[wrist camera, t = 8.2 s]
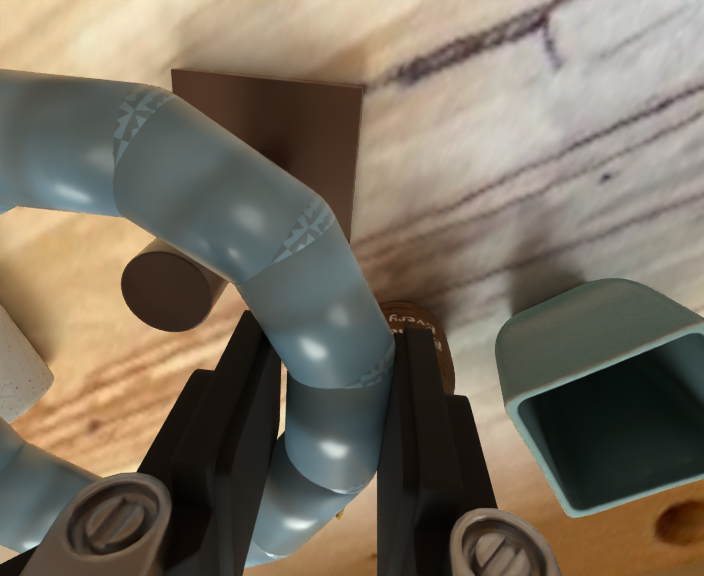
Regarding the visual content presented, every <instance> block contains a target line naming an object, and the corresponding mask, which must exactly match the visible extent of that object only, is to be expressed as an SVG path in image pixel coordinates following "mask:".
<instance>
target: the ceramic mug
mask: <svg viewBox="0 0 704 576" xmlns="http://www.w3.org/2000/svg"><path fill="white" fill-rule="evenodd" d="M53 381H54V375H53V374H52V372H51V370H50V369H49V368H48V366H47V365H46V364H45V363H44V361H43V360H42V359H41V357H40V356H39V355H38V353H37V352H36V351H35V349H34V348H33V346H32V345H31V344H30V342H29V341H28V340H27V338H26V337H25V336H24V334H23V333H22V332H21V331H20V329H19V328H18V327H17V326H16V324H15V323H14V322H13V320H12V319H11V317H10V316H9V315H8V313H7V312H6V311H5V309H4V308H3V306H2V305H1V304H0V416H1V417H2V418H3V419H4V420H5V421H6V422H7V423H8V424H10V423H11V422H13V421H14V420H15V419H17V418H18V417H19V416H20V415H22V414H23V413H24V412H26V411H27V410H28V409H29V408H31V407H32V406H33V405H34V404H35V403H36V402H37V401H38V400H39V399H41V398H42V396H43V395H44V394H45V393H46V392H47V391H48V389H49V388H50V387H51V385H52V383H53Z"/></svg>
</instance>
